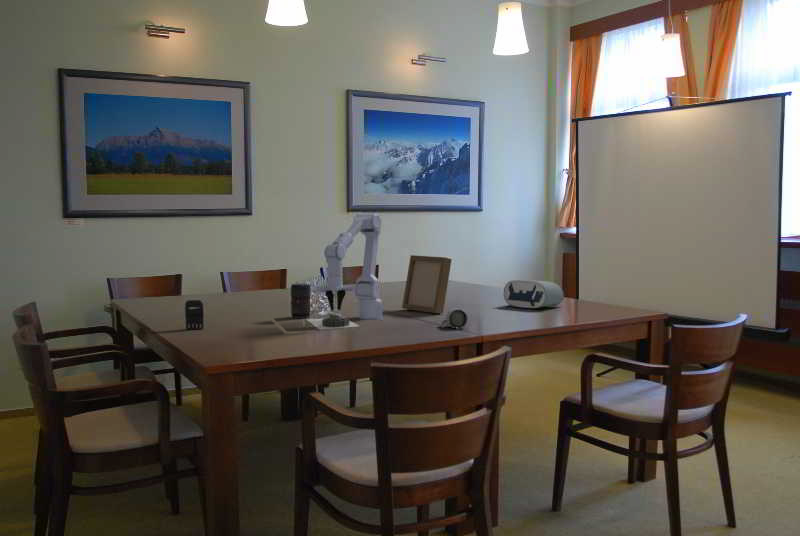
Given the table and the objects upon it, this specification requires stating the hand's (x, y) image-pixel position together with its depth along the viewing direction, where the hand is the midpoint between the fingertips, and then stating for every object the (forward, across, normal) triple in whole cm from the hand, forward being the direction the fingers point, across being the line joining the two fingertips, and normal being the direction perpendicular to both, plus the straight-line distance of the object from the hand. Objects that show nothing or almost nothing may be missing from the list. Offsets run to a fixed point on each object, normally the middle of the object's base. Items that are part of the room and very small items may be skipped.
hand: (335, 310), depth 266 cm
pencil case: (+7, +102, +25) cm, 105 cm away
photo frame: (+7, +51, +29) cm, 59 cm away
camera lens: (+7, -9, +24) cm, 27 cm away
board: (+7, 0, +6) cm, 9 cm away
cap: (+6, 0, 0) cm, 6 cm away
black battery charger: (+7, -52, +15) cm, 55 cm away
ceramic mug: (+7, +43, -16) cm, 46 cm away
